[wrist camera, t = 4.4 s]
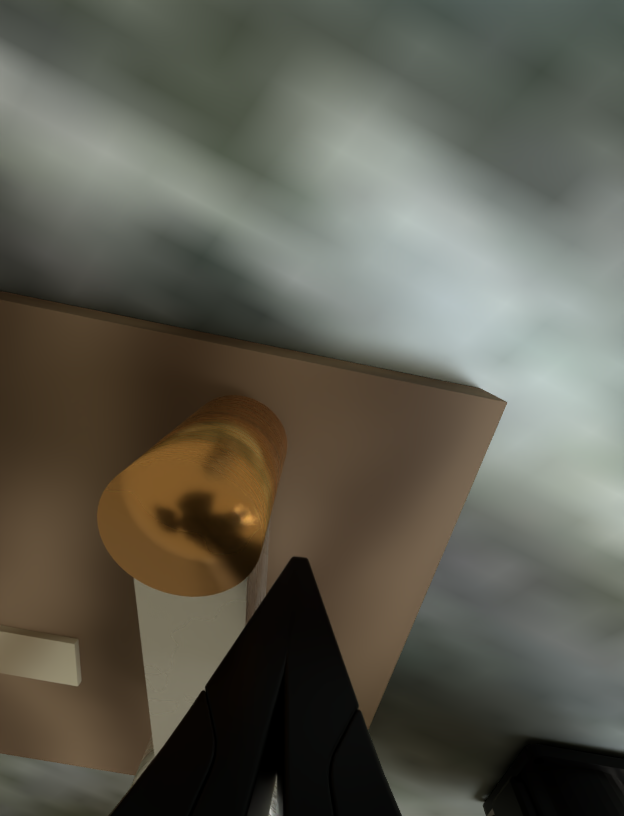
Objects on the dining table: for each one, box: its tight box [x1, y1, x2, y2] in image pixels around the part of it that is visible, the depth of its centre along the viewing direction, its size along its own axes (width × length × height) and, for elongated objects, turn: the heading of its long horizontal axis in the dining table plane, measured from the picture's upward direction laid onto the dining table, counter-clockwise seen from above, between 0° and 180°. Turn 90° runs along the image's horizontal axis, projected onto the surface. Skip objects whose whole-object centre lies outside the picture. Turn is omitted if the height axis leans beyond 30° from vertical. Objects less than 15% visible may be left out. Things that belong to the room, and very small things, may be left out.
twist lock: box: [97, 395, 287, 816], centre depth 9 cm, size 15×5×4 cm, turn 174°
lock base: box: [0, 291, 507, 775], centre depth 12 cm, size 20×22×2 cm
